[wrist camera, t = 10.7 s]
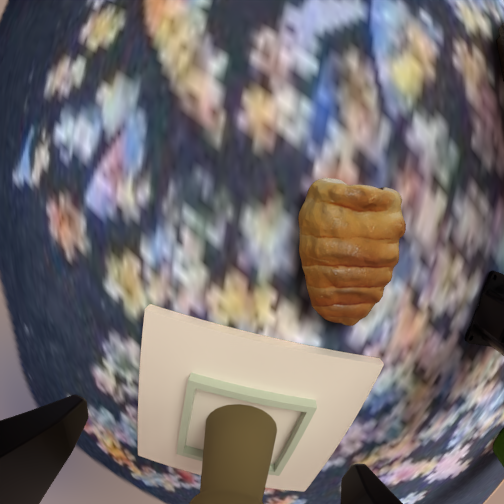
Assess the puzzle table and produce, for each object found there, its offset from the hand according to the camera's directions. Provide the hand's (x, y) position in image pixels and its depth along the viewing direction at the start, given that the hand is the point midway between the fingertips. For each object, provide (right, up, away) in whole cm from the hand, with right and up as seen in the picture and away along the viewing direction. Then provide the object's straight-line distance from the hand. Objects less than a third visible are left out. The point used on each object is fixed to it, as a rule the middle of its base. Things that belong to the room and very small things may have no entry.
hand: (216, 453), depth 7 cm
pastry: (+8, +7, +12) cm, 16 cm away
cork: (0, -9, +14) cm, 17 cm away
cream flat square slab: (0, -8, +15) cm, 17 cm away
